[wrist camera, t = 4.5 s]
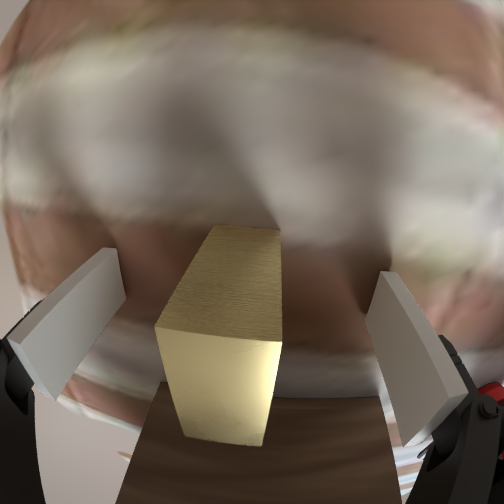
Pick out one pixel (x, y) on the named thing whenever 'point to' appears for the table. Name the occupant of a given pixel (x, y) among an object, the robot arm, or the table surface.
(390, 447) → the brown block with hole
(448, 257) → the table surface
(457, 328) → the table surface
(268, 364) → the butter stick block
